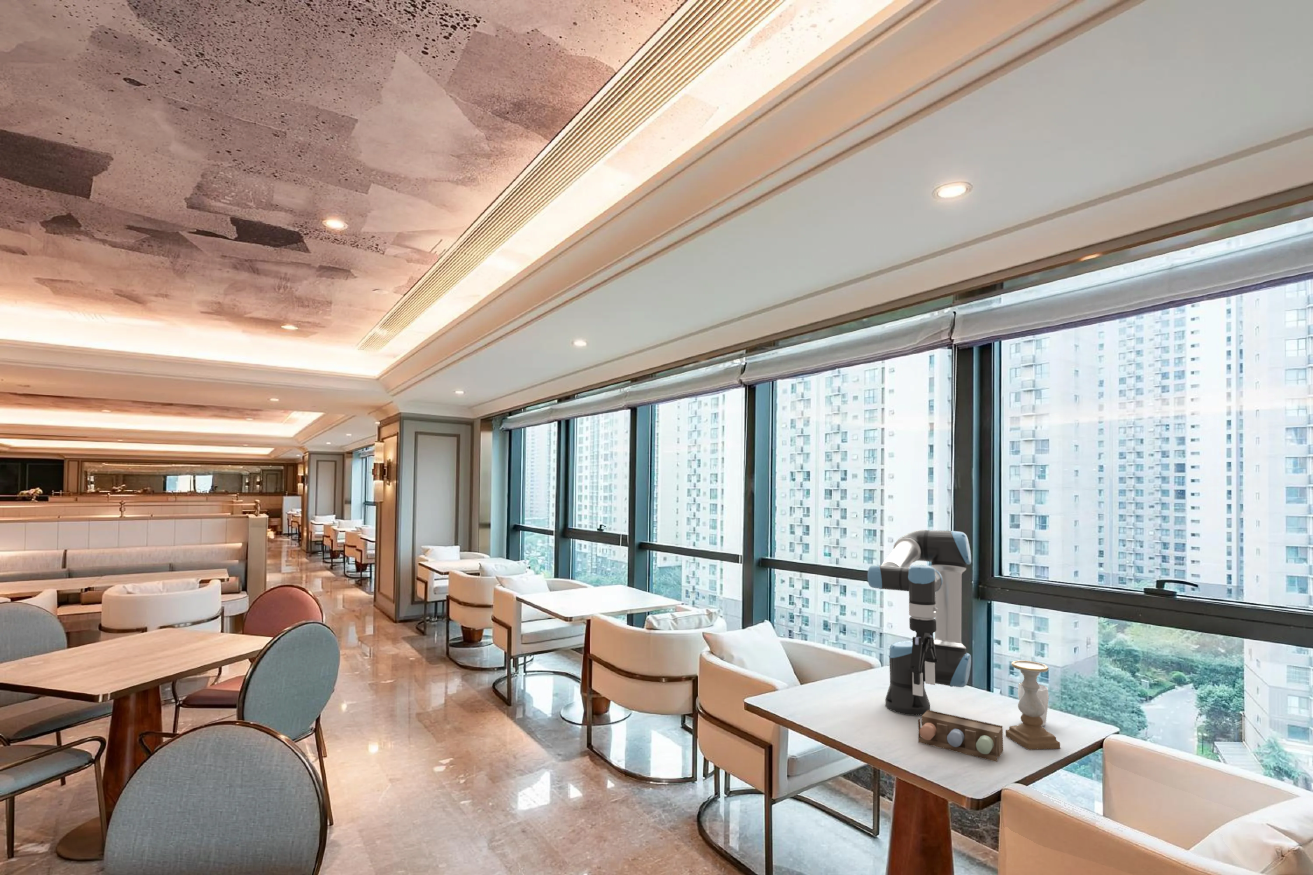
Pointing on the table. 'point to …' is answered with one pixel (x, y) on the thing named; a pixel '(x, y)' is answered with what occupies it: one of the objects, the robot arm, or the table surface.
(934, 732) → the button terracotta
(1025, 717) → the candle holder
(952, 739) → the button slate
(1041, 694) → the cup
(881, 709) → the table surface
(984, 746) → the button sage
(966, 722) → the console
